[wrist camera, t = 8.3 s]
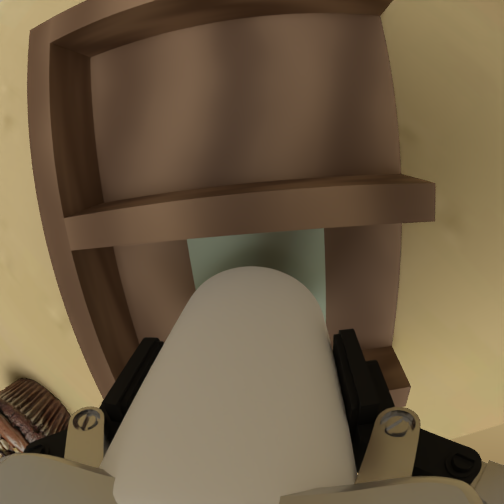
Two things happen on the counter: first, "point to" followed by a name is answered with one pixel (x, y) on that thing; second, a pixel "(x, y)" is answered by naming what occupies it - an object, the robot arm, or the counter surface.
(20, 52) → the counter surface
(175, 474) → the can
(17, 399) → the cupcake
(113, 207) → the tray
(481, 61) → the counter surface
